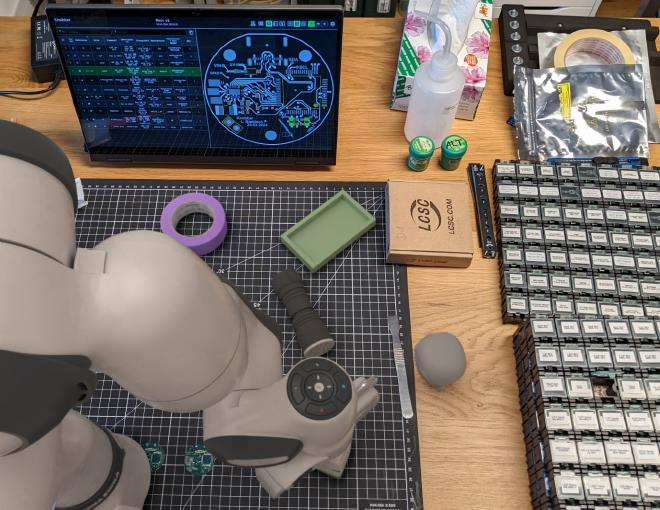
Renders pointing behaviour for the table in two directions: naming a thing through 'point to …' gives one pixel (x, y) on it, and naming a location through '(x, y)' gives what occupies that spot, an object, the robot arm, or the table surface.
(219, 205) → the tape roll
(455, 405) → the table surface
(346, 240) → the tray
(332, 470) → the ink box
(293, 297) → the flashlight
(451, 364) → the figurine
